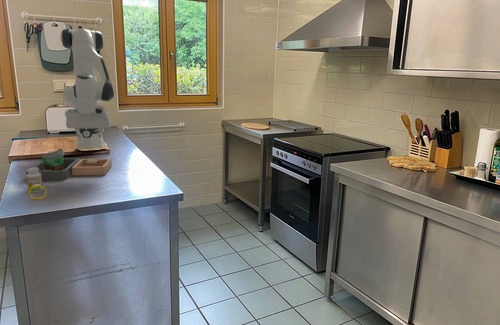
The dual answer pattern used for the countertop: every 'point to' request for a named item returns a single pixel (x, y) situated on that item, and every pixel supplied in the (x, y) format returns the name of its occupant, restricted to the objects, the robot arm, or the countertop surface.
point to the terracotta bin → (94, 170)
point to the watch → (36, 187)
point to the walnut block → (92, 163)
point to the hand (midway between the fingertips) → (90, 137)
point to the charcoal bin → (60, 173)
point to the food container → (53, 160)
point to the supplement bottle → (34, 179)
